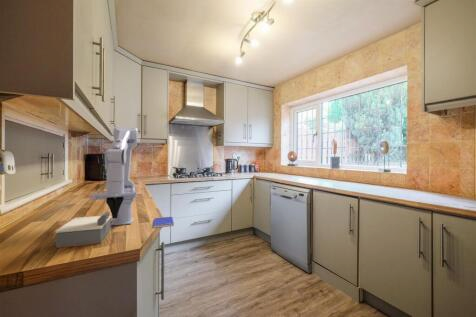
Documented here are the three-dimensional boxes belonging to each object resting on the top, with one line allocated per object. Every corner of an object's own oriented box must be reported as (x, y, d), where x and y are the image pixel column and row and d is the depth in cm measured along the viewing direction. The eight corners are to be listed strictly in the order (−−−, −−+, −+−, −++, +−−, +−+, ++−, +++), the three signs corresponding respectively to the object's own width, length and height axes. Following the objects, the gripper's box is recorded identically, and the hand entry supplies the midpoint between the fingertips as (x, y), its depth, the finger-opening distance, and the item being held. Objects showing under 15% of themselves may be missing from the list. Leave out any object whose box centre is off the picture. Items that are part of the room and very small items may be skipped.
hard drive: (173, 223, 90) (172, 216, 102) (153, 225, 87) (154, 218, 99) (173, 227, 90) (172, 219, 102) (153, 229, 87) (154, 221, 99)
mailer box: (75, 231, 82) (75, 220, 82) (110, 228, 86) (111, 217, 86) (56, 248, 67) (56, 233, 67) (100, 243, 71) (100, 229, 71)
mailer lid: (74, 219, 82) (75, 212, 82) (111, 216, 86) (111, 210, 86) (55, 232, 66) (55, 224, 67) (101, 228, 71) (101, 221, 71)
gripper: (89, 182, 73) (88, 222, 73) (135, 181, 78) (135, 218, 78) (95, 181, 80) (94, 217, 80) (137, 180, 85) (137, 214, 85)
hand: (115, 217), depth 79 cm, fingers closed
